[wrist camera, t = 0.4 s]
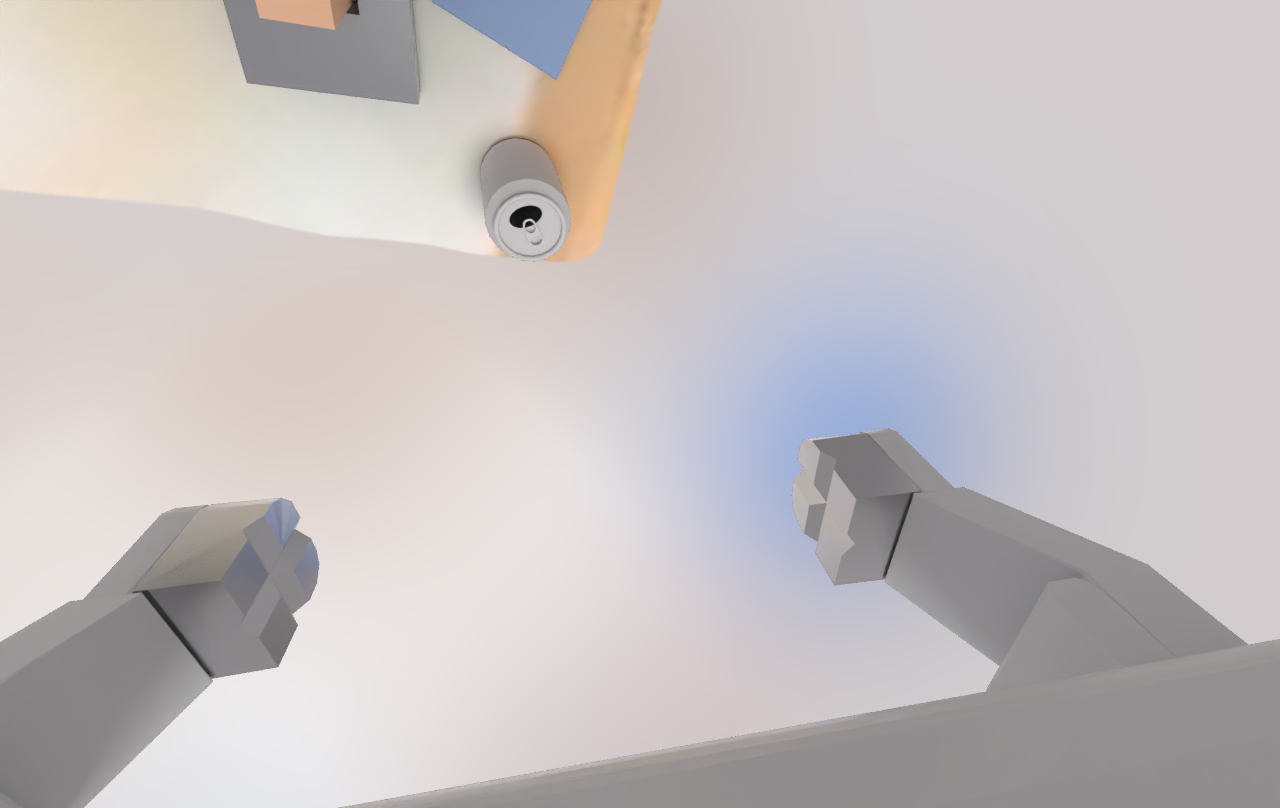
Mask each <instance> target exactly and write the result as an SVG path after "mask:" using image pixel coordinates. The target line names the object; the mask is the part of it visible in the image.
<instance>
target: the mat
mask: <svg viewBox="0 0 1280 808" xmlns="http://www.w3.org/2000/svg"><path fill="white" fill-rule="evenodd" d="M591 1H592V0H433V2H434V3H435V4H437V5H438V6H440V7H442V8H443V9H445V10H446V11H448V12H450V13H451V14H453V15H454V16H456V17H457V18H459V19H461V20H462V21H464V22H465V23H467V24H469V25H470V26H472V27H473V28H475V29H477V30H478V31H480V32H481V33H483V34H485V35H486V36H488V37H489V38H491V39H492V40H494V41H496V42H497V43H499V44H500V45H502V46H504V47H505V48H507V49H508V50H510V51H512V52H513V53H515V54H516V55H518V56H519V57H521V58H523V59H524V60H526V61H527V62H529V63H531V64H532V65H534V66H535V67H537V68H539V69H540V70H542V71H543V72H545V73H547V74H548V75H550V76H551V77H553V78H554V79H557V77H558V75H559V73H560V70H561V68H562V66H563V64H564V62H565V59H566V57H567V55H568V53H569V50H570V48H571V46H572V44H573V41H574V39H575V37H576V35H577V33H578V30H579V28H580V26H581V24H582V21H583V19H584V17H585V15H586V13H587V10H588V8H589V6H590V4H591Z"/></svg>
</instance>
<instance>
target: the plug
mask: <svg viewBox="0 0 1280 808" xmlns="http://www.w3.org/2000/svg"><path fill="white" fill-rule="evenodd" d="M255 2H256V6H257V10H258V14H259V18H264V19H270V20H276V21H282V22H289V23H295V24H301V25H308V26H314V27H320V28H327V29H333V30H335V29H336V28H337V26H338V25H339V23H340V22H341V20H342V19H343V17H344V15H345V14H346V12H347V11H348V9H349V8H350V6H351V5H352V3H353V2H354V0H255Z"/></svg>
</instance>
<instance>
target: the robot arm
mask: <svg viewBox="0 0 1280 808" xmlns="http://www.w3.org/2000/svg"><path fill="white" fill-rule="evenodd" d="M797 460H798V461H799V463H800V464H801V466H802V467H803V470H802V472H801V473H800V474H799V475H798V476H797V477H796V478H795V479H794V483H793V491H792V500H793V508H794V512H795V515H796V518H797V521H798V523H799V525H800V527H801V529H802V531H803V532H804V534H806V535H808V536H809V537H811V538H813V539H814V540H816V541H818V544H817V549H816V555H817V557H818V559H819V560H820V562H821V564H822V565H823V567H824V569H825V570H826V572H827V574H828V576H829V577H830V579H831V581H832V582H833V584H834V585H841V584H849V583H857V582H866V581H875V580H883V579H885V581H884V582H885V583H887V584H888V585H889V586H891V587H892V588H893V589H895V590H896V591H898V592H899V593H900V594H902V595H903V596H904V597H906V598H907V599H908V600H910V601H911V602H913V603H914V604H915V605H917V606H918V607H919V608H921V609H922V610H923V611H925V612H926V613H928V614H929V615H930V616H932V617H933V618H934V619H936V620H937V621H939V622H940V623H941V624H943V625H944V626H945V627H947V628H948V629H950V630H951V631H952V632H954V633H955V634H956V635H958V636H959V637H960V638H962V639H963V640H965V641H966V642H967V643H969V644H970V645H971V646H973V647H974V648H975V649H977V650H978V651H980V652H981V653H982V654H984V655H985V656H986V657H988V658H989V659H991V660H992V661H993V662H995V663H996V664H997V665H999V666H1000V667H999V669H998V670H997V672H996V674H995V675H994V677H993V679H992V681H991V682H990V684H989V686H988V688H987V690H986V692H982V693H976V694H971V695H965V696H960V697H954V698H948V699H943V700H937V701H932V702H926V703H921V704H915V705H909V706H904V707H898V708H893V709H888V710H882V711H876V712H871V713H865V714H859V715H854V716H848V717H842V718H837V719H831V720H826V721H820V722H814V723H809V724H803V725H798V726H792V727H787V728H781V729H775V730H770V731H764V732H759V733H753V734H747V735H742V736H737V737H730V738H725V739H719V740H714V741H708V742H702V743H697V744H692V745H686V746H680V747H674V748H669V749H663V750H658V751H653V752H646V753H641V754H636V755H630V756H624V757H618V758H613V759H607V760H602V761H596V762H591V763H585V764H580V765H574V766H569V767H563V768H558V769H552V770H546V771H541V772H535V773H530V774H524V775H518V776H513V777H508V778H502V779H497V780H491V781H485V782H480V783H474V784H469V785H463V786H457V787H452V788H446V789H441V790H435V791H430V792H424V793H419V794H413V795H407V796H402V797H396V798H391V799H385V800H380V801H374V802H368V803H363V804H357V805H352V806H346V807H341V808H1280V639H1278V640H1272V641H1267V642H1261V643H1255V644H1250V645H1248V644H1247V643H1245V642H1244V641H1243V640H1242V639H1240V638H1239V637H1238V636H1237V635H1235V634H1234V633H1233V632H1232V631H1230V630H1229V629H1228V628H1227V627H1225V626H1224V625H1223V624H1222V623H1220V622H1219V621H1218V620H1217V619H1215V618H1214V617H1213V616H1212V615H1210V614H1209V613H1208V612H1207V611H1205V610H1204V609H1203V608H1202V607H1200V606H1199V605H1198V604H1197V603H1195V602H1194V601H1193V600H1192V599H1190V598H1189V597H1188V596H1187V595H1185V594H1184V593H1183V592H1182V591H1180V590H1179V589H1178V588H1177V587H1175V586H1174V585H1173V584H1172V583H1170V582H1169V581H1168V580H1167V579H1165V578H1164V577H1163V576H1162V575H1160V574H1159V573H1158V572H1156V571H1155V570H1154V569H1153V568H1151V567H1150V566H1149V565H1147V564H1145V563H1143V562H1140V561H1138V560H1136V559H1133V558H1131V557H1129V556H1126V555H1124V554H1121V553H1119V552H1117V551H1114V550H1112V549H1110V548H1107V547H1105V546H1102V545H1100V544H1097V543H1095V542H1093V541H1090V540H1088V539H1086V538H1083V537H1081V536H1079V535H1076V534H1074V533H1071V532H1069V531H1067V530H1064V529H1062V528H1060V527H1057V526H1055V525H1053V524H1050V523H1048V522H1045V521H1043V520H1040V519H1038V518H1036V517H1033V516H1031V515H1029V514H1026V513H1024V512H1022V511H1019V510H1017V509H1014V508H1012V507H1010V506H1007V505H1005V504H1003V503H1000V502H998V501H995V500H993V499H991V498H988V497H986V496H983V495H981V494H979V493H976V492H974V491H972V490H969V489H967V488H965V487H962V488H954V487H953V486H952V485H951V484H950V483H949V482H948V481H947V480H946V479H945V478H944V477H943V476H942V475H941V474H939V472H937V470H935V469H934V468H933V467H932V466H931V465H930V464H929V463H928V462H927V461H926V460H925V459H924V458H923V457H922V456H921V455H920V454H919V453H918V452H917V451H916V450H915V449H914V448H913V447H912V446H911V445H910V444H909V443H908V442H907V441H906V440H905V439H904V438H903V437H902V436H901V435H900V434H898V432H896V431H894V430H891V429H889V428H888V429H881V430H873V431H867V432H860V433H859V434H850V435H842V436H833V437H825V438H816V439H808V440H804V441H803V442H802V444H801V446H800V448H799V453H798V459H797ZM299 519H300V516H299V514H298V512H297V511H296V509H295V507H294V505H293V503H292V502H291V501H289V500H286V499H283V498H277V499H265V500H254V501H243V502H232V503H222V504H211V505H209V506H208V505H204V506H193V507H184V508H175V509H172V510H170V511H167V512H165V513H162V514H161V515H160V516H159V517H158V518H157V520H156V521H155V522H154V523H153V524H152V525H151V526H150V527H149V528H148V529H147V530H146V531H145V533H144V534H143V535H142V536H141V537H140V538H139V539H138V540H137V542H135V543H134V545H133V546H132V547H131V548H130V549H129V550H128V551H127V552H126V553H125V554H124V555H123V557H122V558H121V559H120V560H119V561H118V562H117V563H116V564H115V565H114V566H113V567H112V569H111V570H110V571H109V572H108V573H107V574H106V575H105V576H104V577H103V578H102V580H101V581H100V582H99V583H98V584H97V585H96V586H95V587H94V588H93V589H92V590H91V592H90V593H89V594H88V595H87V596H86V597H85V598H84V599H83V600H78V601H70V602H68V603H66V604H65V605H63V606H61V607H60V608H58V609H56V610H54V611H53V612H51V613H49V614H48V615H46V616H44V617H42V618H41V619H39V620H37V621H36V622H34V623H32V624H31V625H29V626H27V627H25V628H24V629H22V630H20V631H18V632H17V633H15V634H13V635H12V636H10V637H8V638H7V639H5V640H3V641H1V642H0V808H84V807H85V806H86V805H87V804H88V803H89V802H90V801H91V800H92V799H93V798H94V797H95V796H96V795H97V794H98V793H99V792H100V791H101V790H102V789H103V788H104V787H105V786H106V785H107V784H109V783H110V781H111V780H113V779H114V778H115V777H116V776H117V775H118V774H119V773H120V772H121V771H122V770H123V769H124V768H125V767H126V766H127V765H128V764H129V763H130V762H131V761H132V760H133V759H134V758H135V757H136V756H137V755H138V754H139V753H140V752H141V751H142V750H143V749H144V748H145V747H146V746H147V745H148V744H150V742H152V741H153V740H154V739H155V738H156V737H157V736H158V735H159V734H160V733H161V732H162V731H163V730H164V729H165V728H166V727H167V726H168V725H169V724H170V723H171V722H172V721H173V720H174V719H175V718H176V717H177V716H178V715H179V714H180V713H181V712H182V711H183V710H184V709H185V708H186V707H187V706H189V704H190V703H192V701H193V700H194V699H196V698H197V697H198V696H199V695H200V694H201V693H202V692H203V691H204V690H205V689H206V688H207V687H208V686H209V685H210V684H211V683H212V681H213V680H212V678H218V677H224V676H230V675H236V674H241V673H247V672H253V671H259V670H264V669H270V668H276V667H278V666H279V664H280V662H281V660H282V658H283V656H284V654H285V652H286V649H287V647H288V645H289V643H290V641H291V639H292V637H293V635H294V632H295V630H296V628H297V626H298V625H297V622H296V620H295V618H294V616H293V613H294V612H295V611H297V610H298V609H299V608H300V607H302V606H303V605H304V604H305V603H306V602H307V601H309V600H310V598H311V596H312V593H313V591H314V588H315V586H316V584H317V578H318V570H319V561H318V556H317V550H316V548H315V546H314V544H313V542H312V540H311V538H309V537H308V536H306V535H304V534H302V533H301V532H299V531H297V530H295V528H296V526H297V524H298V521H299Z"/></svg>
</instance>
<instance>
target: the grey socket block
mask: <svg viewBox="0 0 1280 808" xmlns="http://www.w3.org/2000/svg"><path fill="white" fill-rule="evenodd" d="M223 1H224V5H225V8H226V12H227V15H228V18H229V22H230V25H231V29H232V32H233V36H234V39H235V43H236V46H237V50H238V53H239V57H240V60H241V64H242V67H243V71H244V74H245V78H246V81H247V83H251V84H259V85H267V86H275V87H283V88H291V89H299V90H307V91H315V92H323V93H331V94H339V95H347V96H355V97H363V98H371V99H379V100H387V101H395V102H403V103H411V104H419V98H420V81H419V69H418V58H417V47H416V35H415V24H414V13H413V1H412V0H357V1H358V4H355V3H352V5H351V6H350V8H349V9H348V11H347V12H346V14H345V15H344V17H343V19H342V20H341V22H340V23H339V25H338V26H337V28H336V29H335V30H333V29H327V28H320V27H314V26H308V25H301V24H295V23H289V22H282V21H276V20H270V19H264V18H259V14H258V10H257V6H256V2H255V0H223Z"/></svg>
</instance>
